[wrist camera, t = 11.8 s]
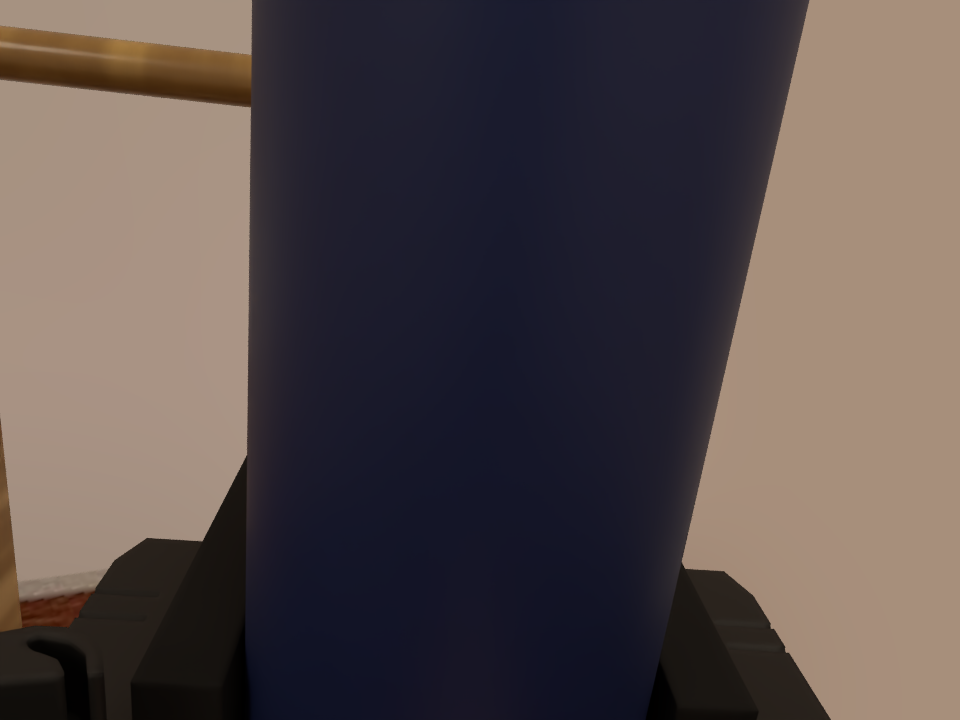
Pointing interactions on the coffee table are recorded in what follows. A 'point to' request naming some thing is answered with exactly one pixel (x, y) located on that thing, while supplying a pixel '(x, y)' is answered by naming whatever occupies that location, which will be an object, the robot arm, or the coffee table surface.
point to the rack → (119, 72)
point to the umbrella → (490, 340)
